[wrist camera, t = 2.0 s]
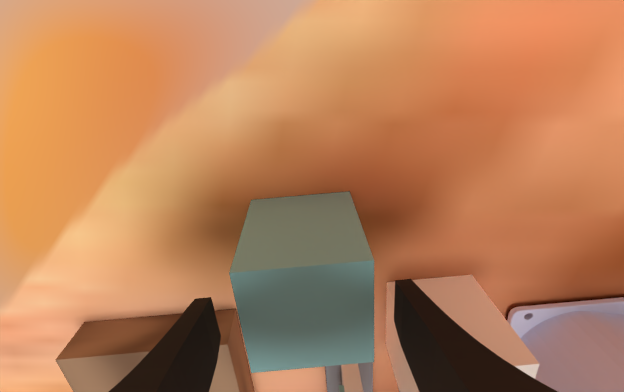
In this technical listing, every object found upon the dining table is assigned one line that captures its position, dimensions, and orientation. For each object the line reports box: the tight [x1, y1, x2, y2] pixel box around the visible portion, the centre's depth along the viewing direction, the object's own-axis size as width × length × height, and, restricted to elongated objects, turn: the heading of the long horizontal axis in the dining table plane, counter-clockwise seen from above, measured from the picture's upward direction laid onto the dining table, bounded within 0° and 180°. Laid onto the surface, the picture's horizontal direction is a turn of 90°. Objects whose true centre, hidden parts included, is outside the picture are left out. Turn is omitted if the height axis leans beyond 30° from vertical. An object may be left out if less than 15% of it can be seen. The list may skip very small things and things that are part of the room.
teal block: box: [229, 191, 374, 373], centre depth 15 cm, size 5×5×6 cm
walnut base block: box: [56, 309, 254, 392], centre depth 21 cm, size 9×9×3 cm
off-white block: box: [385, 275, 539, 392], centre depth 18 cm, size 5×5×6 cm
